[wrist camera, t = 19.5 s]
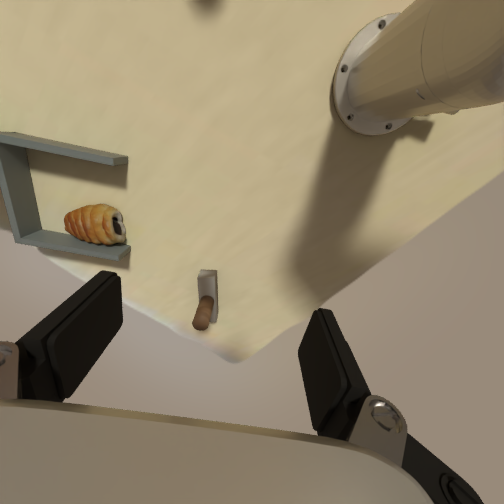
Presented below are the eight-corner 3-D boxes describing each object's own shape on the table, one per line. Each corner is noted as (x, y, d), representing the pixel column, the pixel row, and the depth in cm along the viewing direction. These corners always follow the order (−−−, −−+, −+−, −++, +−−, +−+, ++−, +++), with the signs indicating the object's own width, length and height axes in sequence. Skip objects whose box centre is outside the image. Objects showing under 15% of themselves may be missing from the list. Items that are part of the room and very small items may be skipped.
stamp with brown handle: (217, 269, 43) (208, 299, 35) (218, 311, 47) (210, 347, 39) (201, 269, 43) (188, 298, 35) (203, 311, 47) (193, 346, 39)
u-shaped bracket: (127, 156, 34) (112, 158, 31) (130, 250, 41) (118, 261, 38) (14, 132, 33) (-15, 131, 30) (37, 233, 40) (15, 242, 36)
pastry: (78, 240, 41) (62, 249, 37) (64, 202, 38) (45, 208, 34) (130, 239, 41) (119, 248, 37) (120, 201, 38) (106, 207, 34)
